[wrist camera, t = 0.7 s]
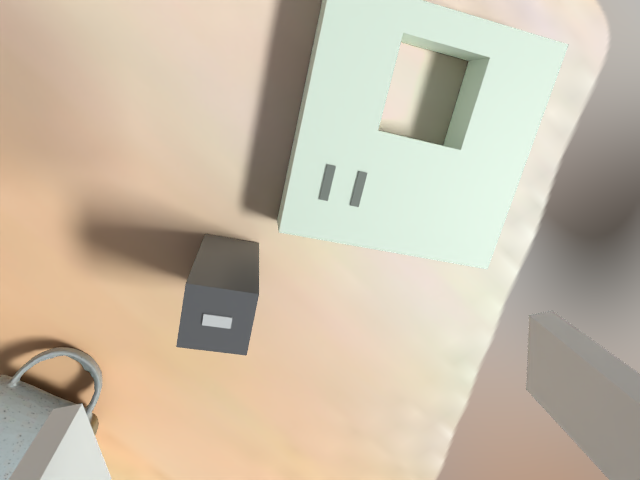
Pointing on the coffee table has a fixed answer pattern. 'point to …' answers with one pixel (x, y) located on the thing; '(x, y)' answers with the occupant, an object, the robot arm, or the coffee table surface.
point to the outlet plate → (408, 153)
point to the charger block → (221, 296)
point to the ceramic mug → (35, 407)
